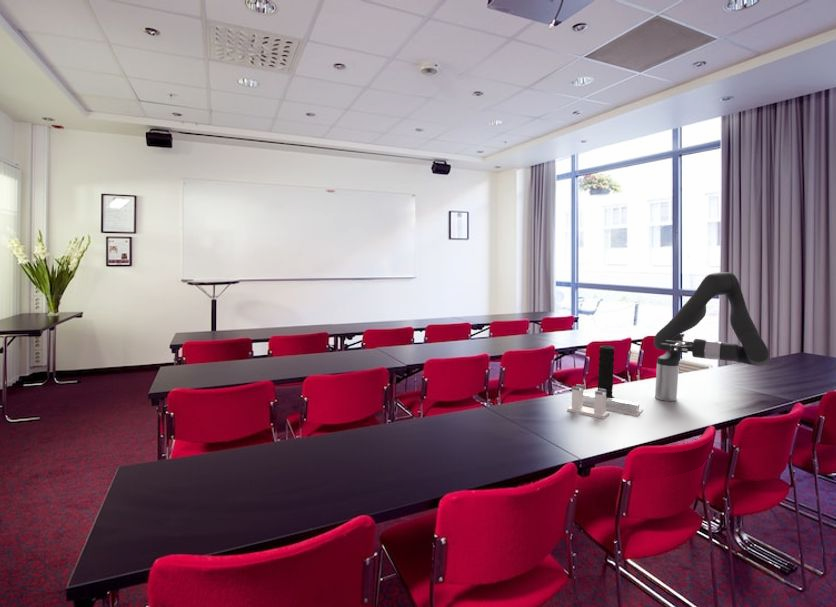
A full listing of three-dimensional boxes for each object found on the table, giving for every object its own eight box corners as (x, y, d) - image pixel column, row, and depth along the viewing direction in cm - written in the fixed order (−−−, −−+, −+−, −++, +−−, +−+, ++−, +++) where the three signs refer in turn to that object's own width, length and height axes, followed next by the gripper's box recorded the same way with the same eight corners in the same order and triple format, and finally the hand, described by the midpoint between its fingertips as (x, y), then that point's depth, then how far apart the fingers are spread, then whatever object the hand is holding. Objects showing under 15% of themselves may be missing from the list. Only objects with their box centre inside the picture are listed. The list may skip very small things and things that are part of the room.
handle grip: (618, 401, 216) (611, 395, 226) (621, 347, 213) (614, 343, 223) (597, 401, 217) (591, 394, 227) (599, 346, 214) (593, 342, 224)
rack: (573, 406, 208) (574, 383, 207) (609, 414, 198) (610, 389, 197) (567, 410, 203) (568, 386, 202) (604, 419, 193) (605, 393, 192)
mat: (581, 398, 222) (581, 397, 222) (643, 410, 204) (643, 409, 204) (573, 403, 214) (573, 402, 214) (637, 416, 196) (637, 415, 196)
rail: (582, 401, 214) (582, 394, 214) (585, 400, 217) (585, 393, 217) (636, 413, 199) (637, 405, 199) (639, 411, 202) (639, 403, 201)
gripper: (710, 337, 187) (666, 333, 197) (705, 342, 176) (658, 337, 186) (709, 355, 188) (665, 350, 198) (703, 361, 177) (657, 355, 187)
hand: (662, 344), depth 192 cm, fingers open, 8 cm apart
